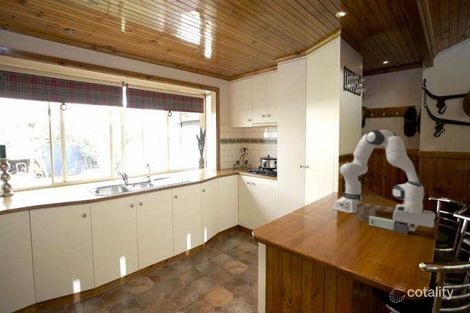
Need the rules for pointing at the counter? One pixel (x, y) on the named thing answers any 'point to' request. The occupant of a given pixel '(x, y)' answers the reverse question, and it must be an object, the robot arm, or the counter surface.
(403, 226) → the block
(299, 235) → the counter surface
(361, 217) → the wall frame
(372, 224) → the sliding door
